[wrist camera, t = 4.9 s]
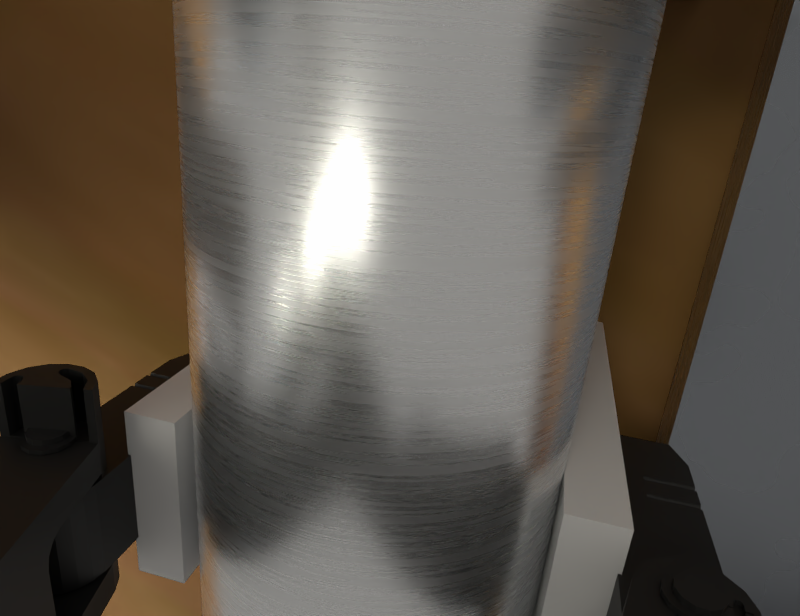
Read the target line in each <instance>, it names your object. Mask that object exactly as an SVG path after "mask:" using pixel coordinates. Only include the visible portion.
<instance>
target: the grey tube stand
mask: <svg viewBox="0 0 800 616" xmlns="http://www.w3.org/2000/svg"><path fill="white" fill-rule="evenodd" d="M656 442H657V443H662V444H667V445H670V446H671V447H672V449H673V450H674V451H675V452H676V453H677V454H678V455H679V456H680V457H681V458H682V459H683V460H684V461H685V463H686V464H687V465H688V466H689V469H690V472H691V475H692V478H693V481H694V485H695V491H697V494H698V497H699V500H700V503H701V510H703V513H704V516H705V519H706V522H707V525H708V528H709V531H710V534H711V537H712V540H713V544H714V547H715V550H716V553H717V556H718V559H719V562H720V565H721V568H722V572H723V574H724V575H725V576H726V577H728V578H729V579H730V580H731V581H733V582H734V583H735V584H736V585H738V586H739V587H740V588H741V589H743V590H744V591H745V592H746V593H747V594H748V596H749V597H750V598H751V600H752V601H753V602H754V604H755V605H756V606H757V608H758V609H759V610H760V612H761V615H762V616H800V0H777V3H776V7H775V11H774V14H773V18H772V22H771V25H770V29H769V32H768V36H767V40H766V43H765V47H764V51H763V54H762V58H761V62H760V65H759V69H758V72H757V76H756V80H755V83H754V87H753V91H752V94H751V98H750V102H749V105H748V109H747V112H746V116H745V120H744V123H743V127H742V131H741V134H740V138H739V142H738V145H737V149H736V152H735V156H734V160H733V163H732V167H731V171H730V174H729V178H728V182H727V185H726V189H725V192H724V196H723V200H722V203H721V207H720V211H719V214H718V218H717V221H716V225H715V229H714V232H713V236H712V240H711V243H710V247H709V251H708V254H707V258H706V261H705V265H704V269H703V272H702V276H701V280H700V283H699V287H698V291H697V294H696V298H695V301H694V305H693V309H692V312H691V316H690V320H689V323H688V327H687V331H686V334H685V338H684V341H683V345H682V349H681V352H680V356H679V360H678V363H677V367H676V371H675V374H674V378H673V381H672V385H671V389H670V392H669V396H668V400H667V403H666V407H665V411H664V414H663V418H662V421H661V425H660V429H659V432H658V436H657V440H656Z"/></svg>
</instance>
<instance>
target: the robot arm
mask: <svg viewBox="0 0 800 616" xmlns="http://www.w3.org/2000/svg"><path fill="white" fill-rule="evenodd" d="M0 433H1V436H0V616H101V615H102V613H103V611H104V609H105V607H106V606H107V604H108V602H109V600H110V599H111V597H112V595H113V593H114V591H115V590H116V586H117V583H118V580H119V569H118V560H117V559H118V558H119V557H120V556H121V555H122V554H123V553H124V552H125V551H126V550H127V548H128V547H129V546H130V545H131V544H132V543H133V542H134V541H135V540H136V542H137V552H138V563H139V570H140V571H144V572H147V573H151V574H154V575H157V576H161V577H164V578H168V579H171V580H174V581H178V582H181V583H185V582H186V580H187V579H188V578H189V577H190V575H191V574H192V573H193V572H194V570H195V569H196V568H197V566H198V565H199V564H200V561H199V540H198V519H197V499H196V478H195V458H194V437H193V416H192V396H191V375H190V355H189V354H186V355H183V356H180V357H177V358H175V359H172V360H169V361H168V362H166V363H165V364H163V365H162V366H160V367H159V368H157V369H156V370H154V371H153V372H151V375H150V376H148V375H147V376H146V377H144V378H143V379H141V380H140V381H138V382H137V383H135V386H131V387H129V388H128V389H126V390H125V391H123V392H122V393H120V394H119V395H117V396H116V397H114V398H113V399H111V400H110V401H108V402H107V403H105V404H104V405H102V406H101V407H100V398H99V389H98V380H97V378H96V375H95V373H94V372H92V371H91V370H89V369H87V368H85V367H82V366H76V365H71V364H47V365H40V366H34V367H28V368H24V369H21V370H18V371H15V372H12V373H9V374H6V375H4V376H2V377H0ZM533 616H762V615H761V612H760V610H759V609H758V608H757V606H756V605H755V604H754V602H753V601H752V600H751V598H750V597H749V596H748V594H747V593H746V592H745V591H744V590H743V589H741V588H740V587H739V586H738V585H736V584H735V583H734V582H733V581H731V580H730V579H729V578H728V577H726V576H725V575H724V574H723V572H722V568H721V565H720V562H719V559H718V556H717V553H716V550H715V547H714V544H713V540H712V537H711V534H710V531H709V528H708V525H707V522H706V519H705V516H704V513H703V510H701V503H700V500H699V497H698V494H697V491H695V485H694V481H693V478H692V475H691V472H690V469H689V466H688V465H687V464H686V463H685V461H684V460H683V459H682V458H681V457H680V456H679V455H678V454H677V453H676V452H675V451H674V450H673V449H672V447H671V446H670V445H667V444H662V443H657V442H653V441H648V440H643V439H638V438H633V437H628V436H623V435H620V433H619V426H618V420H617V413H616V407H615V400H614V393H613V387H612V380H611V373H610V367H609V360H608V353H607V347H606V340H605V333H604V327H603V322H597V326H596V330H595V335H594V340H593V344H592V349H591V354H590V358H589V363H588V367H587V372H586V377H585V381H584V386H583V391H582V395H581V400H580V404H579V409H578V414H577V418H576V423H575V428H574V432H573V437H572V442H571V446H570V451H569V455H568V460H567V465H566V469H565V472H564V476H563V481H562V485H561V490H560V495H559V499H558V504H557V509H556V513H555V518H554V523H553V527H552V532H551V536H550V541H549V546H548V550H547V555H546V560H545V564H544V569H543V574H542V578H541V583H540V588H539V592H538V597H537V601H536V606H535V611H534V615H533Z"/></svg>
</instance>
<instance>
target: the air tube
mask: <svg viewBox="0 0 800 616" xmlns="http://www.w3.org/2000/svg"><path fill="white" fill-rule="evenodd" d="M666 2H667V0H172V4H173V25H174V46H175V66H176V87H177V107H178V128H179V149H180V169H181V190H182V210H183V231H184V252H185V272H186V293H187V313H188V334H189V355H190V375H191V396H192V416H193V437H194V458H195V478H196V499H197V519H198V540H199V561H200V581H201V602H202V616H533V615H534V611H535V606H536V601H537V597H538V592H539V588H540V583H541V578H542V574H543V569H544V564H545V560H546V555H547V550H548V546H549V541H550V536H551V532H552V527H553V523H554V518H555V513H556V509H557V504H558V499H559V495H560V490H561V485H562V481H563V476H564V472H565V469H566V465H567V460H568V455H569V451H570V446H571V442H572V437H573V432H574V428H575V423H576V418H577V414H578V409H579V404H580V400H581V395H582V391H583V386H584V381H585V377H586V372H587V367H588V363H589V358H590V354H591V349H592V344H593V340H594V335H595V330H596V326H597V321H598V316H599V312H600V307H601V303H602V298H603V293H604V289H605V284H606V279H607V275H608V270H609V266H610V261H611V256H612V252H613V247H614V242H615V238H616V233H617V229H618V224H619V219H620V215H621V210H622V205H623V201H624V196H625V191H626V187H627V182H628V178H629V173H630V168H631V164H632V159H633V154H634V150H635V145H636V141H637V136H638V131H639V127H640V122H641V117H642V113H643V108H644V103H645V99H646V94H647V90H648V85H649V80H650V76H651V71H652V66H653V62H654V57H655V53H656V48H657V43H658V39H659V34H660V29H661V25H662V20H663V15H664V11H665V6H666Z"/></svg>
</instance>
